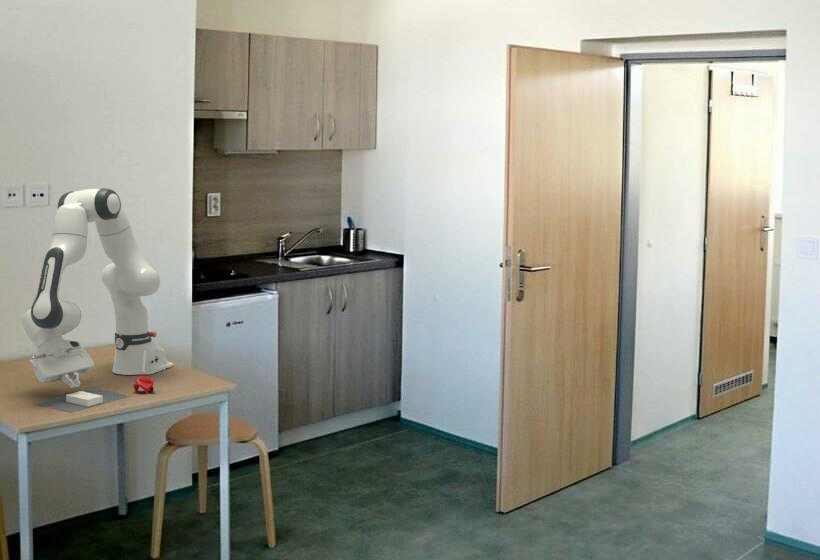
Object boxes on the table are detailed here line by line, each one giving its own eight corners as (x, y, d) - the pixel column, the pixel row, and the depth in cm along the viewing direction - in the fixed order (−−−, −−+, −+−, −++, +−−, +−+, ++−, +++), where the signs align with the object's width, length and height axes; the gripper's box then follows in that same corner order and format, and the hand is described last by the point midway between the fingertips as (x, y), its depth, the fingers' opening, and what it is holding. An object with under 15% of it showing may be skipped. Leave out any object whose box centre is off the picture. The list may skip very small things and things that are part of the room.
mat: (92, 389, 344) (92, 387, 344) (130, 398, 335) (130, 396, 335) (32, 405, 324) (32, 403, 324) (71, 414, 315) (71, 412, 315)
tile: (81, 390, 331) (102, 395, 326) (81, 398, 331) (102, 403, 326) (66, 394, 326) (87, 399, 321) (66, 402, 326) (87, 407, 321)
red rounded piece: (146, 388, 336) (157, 375, 340) (131, 380, 337) (141, 368, 341) (147, 402, 341) (158, 390, 345) (132, 395, 343) (143, 383, 347)
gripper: (31, 351, 321) (53, 387, 317) (84, 341, 338) (105, 374, 334) (23, 363, 324) (44, 398, 320) (75, 352, 341) (96, 385, 337)
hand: (76, 386), depth 327 cm, fingers closed
